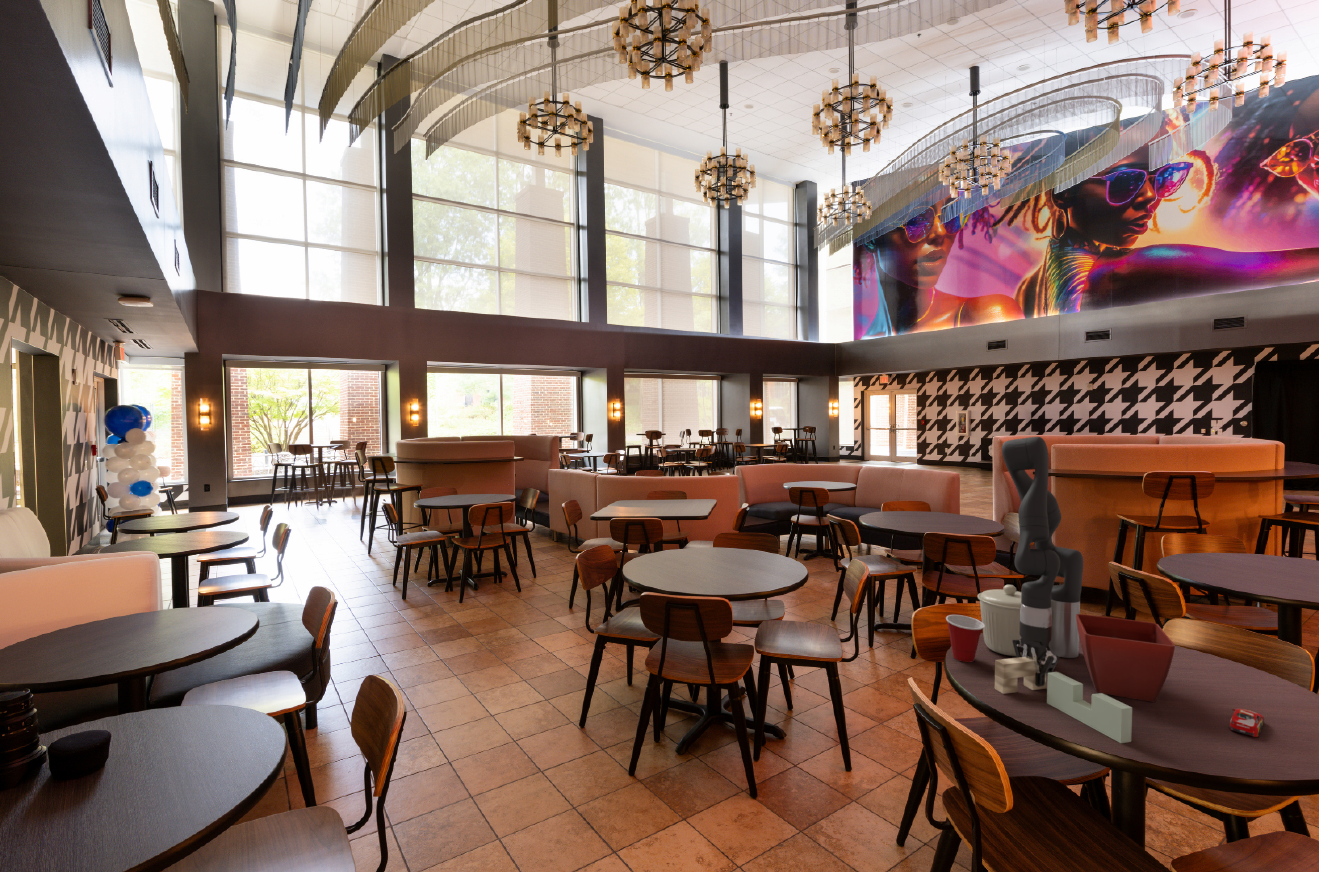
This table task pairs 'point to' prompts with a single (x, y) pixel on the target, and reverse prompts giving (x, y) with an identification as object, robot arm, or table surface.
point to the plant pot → (1125, 656)
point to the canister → (1001, 618)
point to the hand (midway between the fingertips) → (1034, 682)
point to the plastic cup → (964, 636)
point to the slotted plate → (1015, 674)
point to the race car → (1246, 722)
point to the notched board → (1090, 707)
